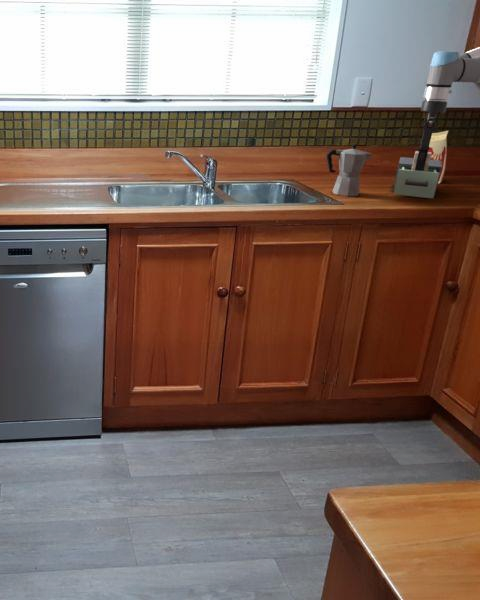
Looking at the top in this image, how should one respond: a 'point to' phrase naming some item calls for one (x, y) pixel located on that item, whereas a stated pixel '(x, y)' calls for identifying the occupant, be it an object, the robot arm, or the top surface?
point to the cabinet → (409, 162)
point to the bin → (416, 182)
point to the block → (425, 162)
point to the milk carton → (439, 150)
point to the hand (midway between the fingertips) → (419, 168)
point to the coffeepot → (348, 170)
